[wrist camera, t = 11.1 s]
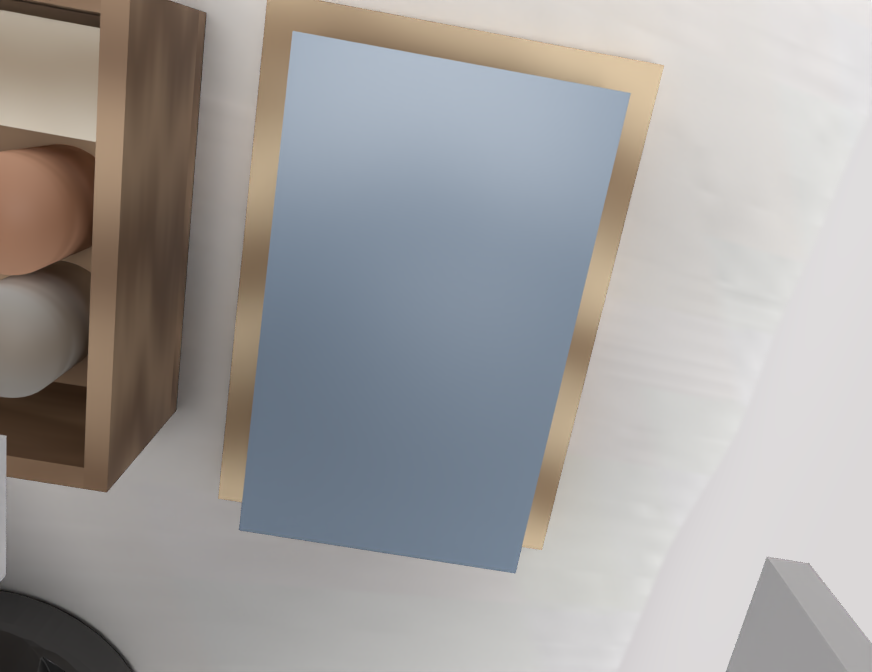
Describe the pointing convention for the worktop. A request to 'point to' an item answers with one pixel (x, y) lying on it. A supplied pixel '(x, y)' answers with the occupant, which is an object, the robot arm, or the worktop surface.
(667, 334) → the worktop surface
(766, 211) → the worktop surface
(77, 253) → the walnut spice box
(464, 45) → the oak cutting board
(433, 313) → the slate lid
